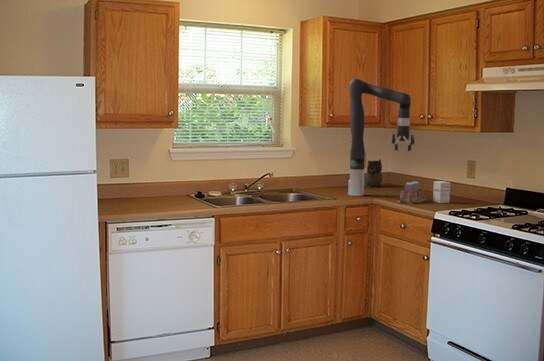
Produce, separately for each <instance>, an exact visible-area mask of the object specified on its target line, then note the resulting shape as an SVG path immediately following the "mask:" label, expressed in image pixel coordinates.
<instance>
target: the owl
mask: <svg viewBox="0 0 544 361" xmlns="http://www.w3.org/2000/svg"><path fill="white" fill-rule="evenodd" d="M382 168H383V165H382V160H381V159H373V160H372V159H371V160H368V161H367V164H366V172H365V178H364V187H366V188H369V189H370V188H371V189H375V187H376V188H381V185H382V181H383V174H382V170H383V169H382Z"/></svg>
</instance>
